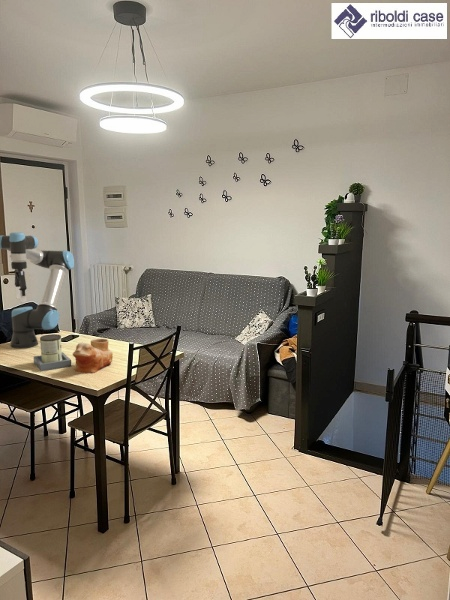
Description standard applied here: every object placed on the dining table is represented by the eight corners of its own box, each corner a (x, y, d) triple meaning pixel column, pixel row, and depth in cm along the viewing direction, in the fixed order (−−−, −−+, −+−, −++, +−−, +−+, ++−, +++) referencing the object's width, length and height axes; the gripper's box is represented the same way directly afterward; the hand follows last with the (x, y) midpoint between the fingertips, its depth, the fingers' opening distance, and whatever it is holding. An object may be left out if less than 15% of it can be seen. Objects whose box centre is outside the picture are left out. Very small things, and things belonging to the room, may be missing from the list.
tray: (33, 362, 237) (33, 356, 236) (62, 358, 245) (62, 352, 244) (41, 371, 223) (40, 364, 222) (71, 366, 231) (71, 359, 230)
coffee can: (39, 361, 235) (38, 335, 233) (59, 358, 241) (58, 333, 238) (43, 366, 227) (42, 340, 224) (64, 363, 232) (63, 337, 230)
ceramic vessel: (65, 373, 220) (63, 344, 217) (96, 359, 244) (95, 332, 242) (89, 377, 215) (87, 347, 213) (118, 361, 240) (117, 334, 237)
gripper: (7, 260, 248) (10, 297, 251) (15, 263, 227) (18, 304, 231) (22, 259, 252) (24, 296, 255) (30, 262, 232) (33, 302, 235)
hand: (21, 300), depth 243 cm, fingers open, 13 cm apart
